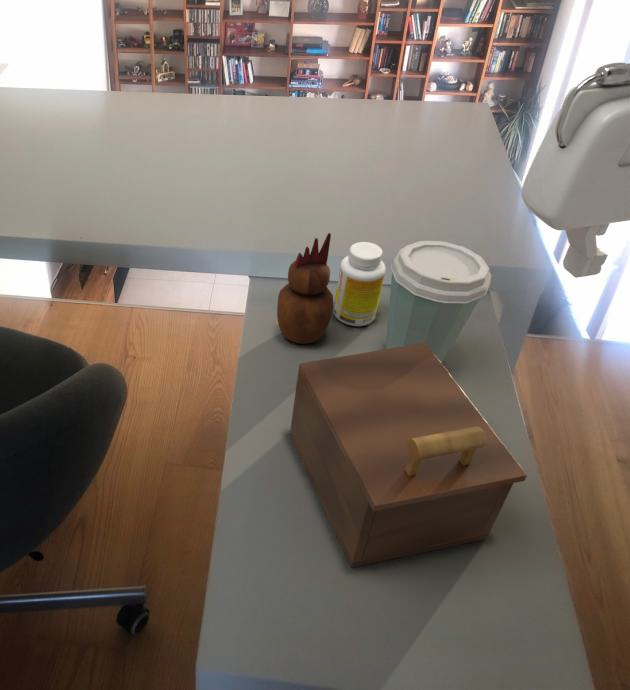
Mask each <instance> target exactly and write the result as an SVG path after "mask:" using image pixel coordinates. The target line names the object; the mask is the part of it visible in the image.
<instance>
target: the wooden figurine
mask: <svg viewBox="0 0 630 690" xmlns="http://www.w3.org/2000/svg"><path fill="white" fill-rule="evenodd" d="M331 239H332V234H331V233H330V232H328V233H327V235H326V237H325V239H324V241H323V243H322V245H321V248H320V249H319V238H318V237H315V238H314V241H313V244H312V247H311V250H310V247H309V246H306V247H305V249H304V252H303V254H302V253H301V252H298V254H297V256H296V260H294V261H293V262H292V263H291V264H290V265H289V267H288V271H287V281H288V283H286V284H285V285H284V286H283V287H282V288H281V289H280V290H279V293H278V294H277V295H278V296H277V304H276V305H277V306H276V317H277V323H278V327H279V330H280V333H281V334H282V337H284V338H285V339H286V340H288V341H290V342H292V343H296V344H301V345H302V344H305V345H307V344H313V343H315V342H317V341H319V340H320V339H321V338H322V337H323V336H324V334H325V333H326V331H327V329H328V327H329V325H330V322H331V318H332V314H333V311H334V295H333V293H332V292H331V290H330V289H329V288H328V285H329V283H330V279H331V269H330V267H329V266H328V258H329V252H330V244H331Z"/></svg>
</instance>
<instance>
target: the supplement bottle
mask: <svg viewBox="0 0 630 690" xmlns="http://www.w3.org/2000/svg"><path fill="white" fill-rule="evenodd" d="M382 249H383V248H381V247H380V246H379V245H378V244H376V243H373V242H369V241H360V242H356V243H353V244H352V245H351V246H350V248H349V251H348V255H347V256H345V257H344V258H343V259H342V260H341V262H340V265H339V266H340V267H339V272H338V278H337V284H336V289H335V290H336V291H335V297H334V301H333V314H334V316H335V318H336V319H337V320H338V321H339V322H341V323H343V324H344V325H348V326H351V327H362V326H367V325H369V324H371V323H373V321H374V320H375V319H376V316H377V312H378V307H379V303H380V299H381V294H382V289H383V286H384V285H383V284H384V279H385V275H386V264H385V262H384V261H383V260H382V258H383V250H382Z"/></svg>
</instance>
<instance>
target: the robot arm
mask: <svg viewBox="0 0 630 690" xmlns="http://www.w3.org/2000/svg"><path fill="white" fill-rule="evenodd" d="M594 83H595V84H594ZM520 192H521V198H522V200H523V203H524V205H525V206H526V208H527V209H528V210H529V211H530V212H531V213H532V214H533V215H535V217H537V218H538V219H539V220H540V221H542V222H543V223H545V224H546V225H547V226H548V227H550V228H551V229H553V230H555V231H565V235H566V238H567V241H568V244H569V246H568V248H567V250H566V253H565V256H564V258H563V260H562V265H563V268H564V269H565V271H567V272H568V273H569V274H570V275H571V276H573V278H576V279H577V278H585V277H589V276H594V275H595V276H596V275H599V274H600V273H601V271H602V266H603V265H604V264H605V262H606V260H607V258H608V256H609V254H608V253H607V252H606V251H604V250H603V249H601V248H598V245H597V237H599V236H604V235H605V234H606V232H607V230H608V228H609V225H610V224H614V223H621V222H627V221H630V63H626V62H611V63H607V64H604V65H601V66H599V67H597V69H596V70H595V73H594V74H591V75H589V76H588V77H586V78H585V79H583V80H582V81H581V82H579V83H578V84H577V85H576V86H573V87H572V88H571V89H570V90H569V91H568V93H567V94H566V95H565V98H564V99H563V101H562V105H561V108H560V109H559V110H558V112H557V113H556V115H555V117H554V118H553V120H552V122H551V124H550V126H549V127H548V129H547V131H546V132H545V135H544V137H543V139H542V141H541V144H540V145H539V147H538V149H537V152H536V153H535V156H534V158H533V160H532V162H531V164H530V167H529V169H528V172H527V174H526V176H525V179H524V182H523V184H522V187H521V191H520Z"/></svg>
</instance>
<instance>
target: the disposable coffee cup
mask: <svg viewBox="0 0 630 690" xmlns="http://www.w3.org/2000/svg"><path fill="white" fill-rule="evenodd" d="M390 270H391V278H390V281H391V282H390V290H389V292H390V293H389V302H388V303H389V305H388V315H387V316H388V317H387V328H386V340H385V349H391V348H397V347H403V346H409V345H415V344H421V343H426V344H427V345H428V346H429V347H430V349H431V350H432V351H433V353H434V354H435V355H436V357H437V358H438V359H439V361H440V362H441V363H442V364H443V362H444V361H445V358H446V357H447V355H448V353H449V352H450V350H451V348H452V347H453V345H454V344H455V342H456V340H457V339H458V337H459V335H460V333H461V332H462V330H463V328H464V326H465V325H466V323H467V321H468V319H469V318H470V316H471V315H472V313H473V311H474V310H475V308H476V306H477V304H478V303H479V301H480V300H481V298H483V297H486V295H487V292H488V291H489V288H490V286H491V283H492V282H491V280H492V276H493V275H492V273H491V271H490V267H489V266H488V264H487V263H486V262H485V260H484V259H483V257H482V256H481V255H479V254H477V253H475V252H474V251H472V250H471V249H468V248H467V247H466V246H461V245H458V244H454V243H451V242H447V241H444V240H419V241H417V242H414V243H410V244H406V245H405V246H404V247H402V248H400V249H399V251H398V253H397V254H396V256H395V257H394V259H393V261H392V263H391V265H390Z"/></svg>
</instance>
